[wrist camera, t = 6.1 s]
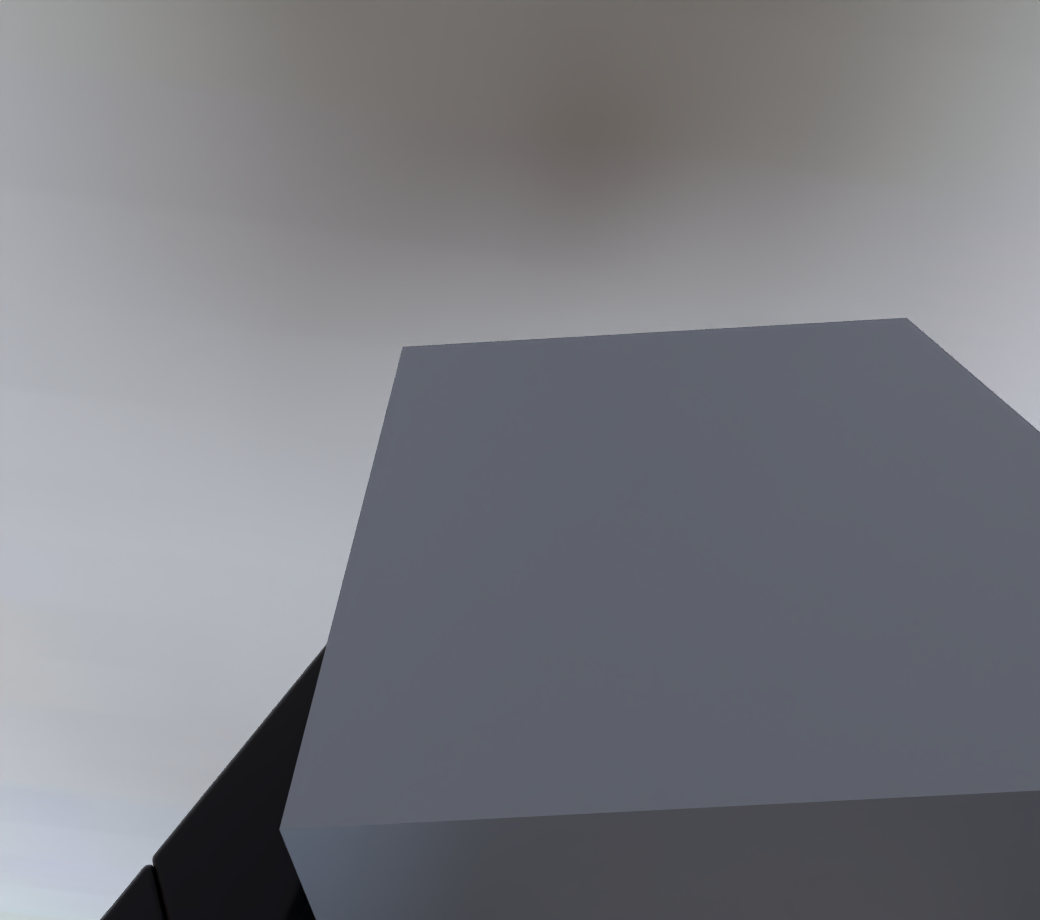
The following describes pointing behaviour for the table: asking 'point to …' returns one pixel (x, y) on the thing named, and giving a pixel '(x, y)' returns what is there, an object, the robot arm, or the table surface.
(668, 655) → the slate blue block
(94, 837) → the table surface
